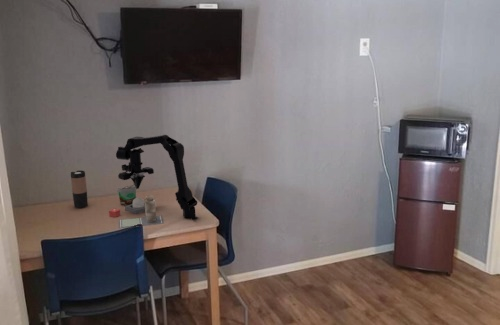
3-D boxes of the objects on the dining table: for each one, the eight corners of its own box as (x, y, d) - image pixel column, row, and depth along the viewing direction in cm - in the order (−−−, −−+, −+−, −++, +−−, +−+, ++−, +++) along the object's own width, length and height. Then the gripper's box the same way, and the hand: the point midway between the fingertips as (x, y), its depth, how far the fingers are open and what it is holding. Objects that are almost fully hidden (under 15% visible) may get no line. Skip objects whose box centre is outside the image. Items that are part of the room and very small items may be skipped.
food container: (125, 207, 264) (123, 190, 262) (118, 205, 268) (116, 188, 265) (142, 201, 274) (141, 185, 271) (135, 199, 277) (134, 183, 275)
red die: (120, 216, 250) (119, 208, 249) (115, 219, 246) (114, 211, 245) (114, 215, 251) (113, 207, 250) (109, 218, 248) (108, 210, 247)
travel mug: (85, 208, 263) (82, 174, 258) (71, 208, 263) (68, 174, 258) (90, 204, 270) (86, 170, 265) (77, 204, 270) (73, 170, 265)
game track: (161, 217, 248) (161, 215, 248) (164, 225, 237) (163, 223, 237) (118, 221, 243) (118, 219, 242) (118, 230, 232) (118, 227, 231)
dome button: (147, 208, 257) (146, 197, 256) (136, 211, 253) (136, 200, 251) (140, 205, 262) (139, 195, 260) (130, 208, 257) (129, 197, 256)
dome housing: (152, 211, 258) (152, 205, 257) (135, 215, 251) (135, 210, 250) (141, 206, 265) (141, 201, 264) (125, 211, 258) (125, 206, 257)
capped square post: (154, 218, 244) (153, 194, 241) (156, 221, 240) (154, 197, 237) (145, 219, 242) (144, 195, 239) (147, 222, 238) (145, 198, 235)
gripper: (142, 155, 263) (143, 182, 266) (111, 161, 250) (114, 189, 254) (153, 158, 255) (155, 186, 259) (123, 164, 242) (125, 193, 246)
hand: (137, 188), depth 254 cm, fingers closed
